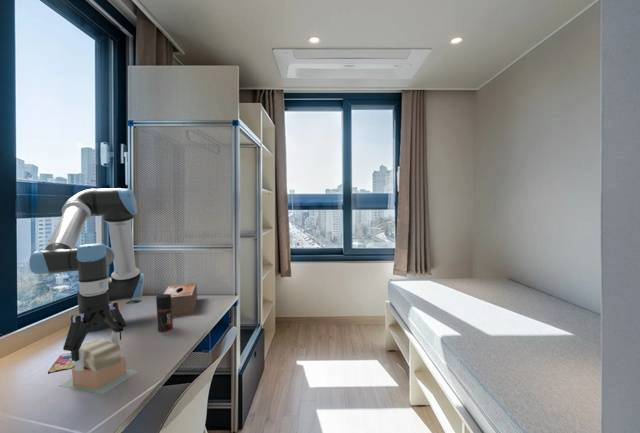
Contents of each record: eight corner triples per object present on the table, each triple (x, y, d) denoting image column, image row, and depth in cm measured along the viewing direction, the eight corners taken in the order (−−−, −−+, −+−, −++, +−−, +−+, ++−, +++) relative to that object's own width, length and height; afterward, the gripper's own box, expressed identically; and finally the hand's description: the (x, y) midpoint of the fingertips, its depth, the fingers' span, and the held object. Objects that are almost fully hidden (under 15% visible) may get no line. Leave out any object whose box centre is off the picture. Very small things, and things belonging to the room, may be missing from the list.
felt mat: (58, 387, 100) (58, 385, 100) (98, 366, 112) (98, 364, 112) (103, 395, 95) (103, 393, 95) (139, 372, 107) (139, 371, 107)
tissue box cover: (169, 303, 183) (168, 285, 182) (197, 300, 187) (196, 283, 186) (161, 318, 158) (160, 298, 158) (192, 314, 162) (191, 295, 162)
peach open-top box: (72, 384, 100) (71, 369, 100) (102, 368, 110) (101, 354, 109) (97, 389, 97) (96, 372, 97) (126, 372, 107) (125, 357, 106)
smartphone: (84, 350, 124) (73, 367, 110) (84, 352, 124) (74, 370, 110) (60, 354, 121) (46, 373, 107) (61, 357, 121) (46, 375, 107)
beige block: (77, 363, 103) (76, 346, 103) (101, 354, 109) (100, 338, 109) (96, 372, 97) (95, 354, 97) (120, 362, 103) (119, 345, 103)
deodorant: (167, 332, 140) (165, 298, 139) (154, 331, 141) (152, 297, 141) (175, 327, 146) (173, 294, 145) (164, 326, 147) (162, 293, 146)
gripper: (63, 305, 89) (68, 382, 90) (135, 283, 112) (139, 344, 114) (43, 304, 92) (49, 378, 93) (119, 282, 115) (122, 342, 116)
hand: (99, 360), depth 103 cm, fingers open, 12 cm apart
